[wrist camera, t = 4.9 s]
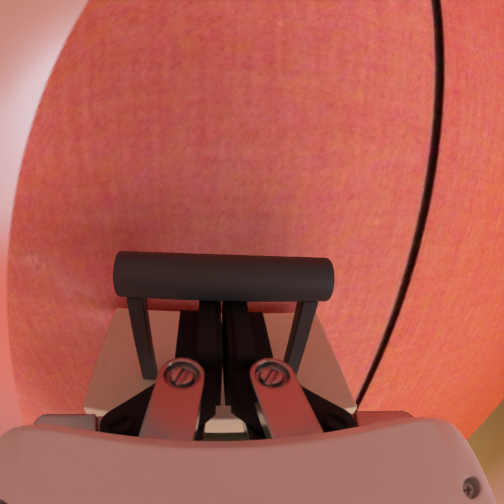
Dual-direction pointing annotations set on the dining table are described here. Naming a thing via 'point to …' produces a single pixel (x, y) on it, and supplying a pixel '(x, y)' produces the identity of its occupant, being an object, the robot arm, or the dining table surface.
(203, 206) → the dining table surface
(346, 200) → the dining table surface
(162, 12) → the dining table surface
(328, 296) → the drawer
